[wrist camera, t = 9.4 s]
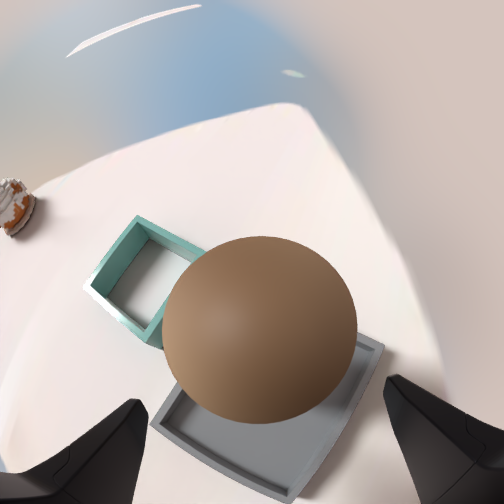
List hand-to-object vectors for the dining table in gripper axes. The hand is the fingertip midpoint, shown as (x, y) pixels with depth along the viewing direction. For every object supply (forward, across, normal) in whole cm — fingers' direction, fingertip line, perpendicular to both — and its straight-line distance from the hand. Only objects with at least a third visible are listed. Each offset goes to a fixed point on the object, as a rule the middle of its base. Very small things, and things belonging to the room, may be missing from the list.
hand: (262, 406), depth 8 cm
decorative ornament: (+26, +37, -9) cm, 46 cm away
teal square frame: (+16, +10, +1) cm, 18 cm away
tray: (+8, 0, +8) cm, 12 cm away
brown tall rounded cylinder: (+9, 0, +6) cm, 11 cm away
